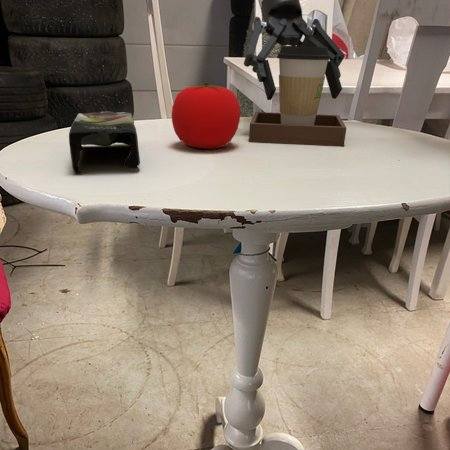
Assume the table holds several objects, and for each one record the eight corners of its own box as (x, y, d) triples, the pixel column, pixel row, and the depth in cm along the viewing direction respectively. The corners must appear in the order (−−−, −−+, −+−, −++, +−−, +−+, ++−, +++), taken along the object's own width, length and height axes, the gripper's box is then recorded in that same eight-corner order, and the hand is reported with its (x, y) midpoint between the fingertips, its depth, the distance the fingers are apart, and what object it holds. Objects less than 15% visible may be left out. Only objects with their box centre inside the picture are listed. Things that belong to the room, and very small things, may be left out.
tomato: (171, 153, 78) (168, 85, 73) (174, 139, 88) (172, 78, 83) (242, 154, 79) (244, 86, 74) (237, 140, 89) (238, 79, 84)
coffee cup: (331, 132, 93) (342, 47, 86) (301, 138, 87) (310, 47, 80) (292, 125, 99) (299, 45, 92) (261, 131, 93) (266, 45, 86)
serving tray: (337, 131, 99) (339, 115, 97) (343, 146, 86) (346, 127, 85) (254, 128, 100) (255, 111, 99) (248, 141, 88) (249, 123, 86)
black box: (78, 144, 82) (73, 107, 79) (134, 143, 84) (132, 107, 81) (70, 176, 65) (64, 130, 62) (141, 174, 67) (139, 130, 64)
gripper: (326, 20, 99) (353, 106, 94) (214, 17, 92) (237, 109, 87) (343, -11, 92) (373, 79, 87) (223, -18, 85) (248, 80, 80)
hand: (305, 94), depth 87 cm, fingers open, 13 cm apart
